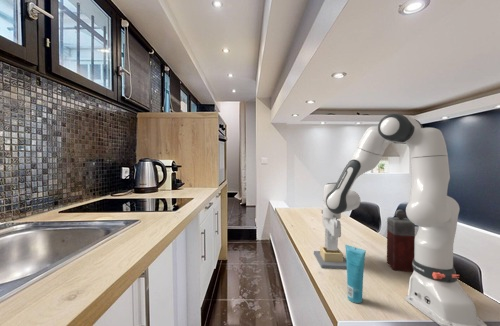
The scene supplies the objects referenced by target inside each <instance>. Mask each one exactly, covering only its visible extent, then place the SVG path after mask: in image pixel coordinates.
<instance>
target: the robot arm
mask: <svg viewBox="0 0 500 326" xmlns="http://www.w3.org/2000/svg"><path fill="white" fill-rule="evenodd" d="M392 143H393V144H405V145H407V147H408V150H409V154H410V155H409V158H410V169H411V185H410V192H409V200H408V202H407V205H406V207H405V213H406V217H407V219H408V220H410V221H411V222H412V223H414V224H415V226H418V228H417V232H416V233H415V246H414V258H413V269H414V271H413V272H412V274H411V275H410V277H409V282H408V291H407V294H406V295H405V296H404V300H405V301H406V302H407V303H409V304H410V305H412V306H413V307H414V308H416V309H417V310H419V311H420V312H421V313H422V314H424V315H425V316H426V317H428V318H429V319H431V320H432V321H433V322H434V323H436V324H437V325H439V326H488V325H487V324H486V323H485V321H483V320H482V319H480V317H479V316H478V315H477V309H476V305H475V303H474V300H473V297H471V295H468V294H467V292H466V291H465V289H464V288H463V287H462V285H461V284H460V283H459V282H458V280H459V279H460V274H457V272H456V269H455V267H454V243H455V237H456V231H457V226H458V219H459V213H460V205H459V203H458V202H457V200H456V199H454V198H453V197H451V196H449V195H448V188H449V183H450V180H451V175H450V165H449V164H450V163H449V154H448V150H447V149H448V148H447V143H446V140H445V137H444V134H443V133H442V130H441V129H439V128H435V127H423V124H422V123H421V122H420V121H419V120H417V119H415V118H413V117H411V116H409V115H406V114H402V113H390V114H387V115H385V116H383V118H381V119H380V121H379V123H378V125H377V126H376V125H372V126H370V127H368V128H367V129H366V131H364V133H363V135H362V136H361V138H360V140H359V141H358V144H357V145H356V148H355V150H354V153H352V154H353V155H352V156H351V158H350V160H349V161H348V163H347V164H346V165H345V166H344V168H343V170H342V172H341V174H340V176H339V178H338V180H337V182H328V183H325V184H324V186H323V192H322V201H323V205H322V209H321V214H322V226H323V227H324V229H325V228H327V229H328V230H329V233H330V234H331V236H332V238H331V242H332V243H335V240H336V237H338V238H341V237H342V225H341V221H340V220H339V219H341V217H342V213H345V212H350V211H353V210H357V209H358V208H359V207H360V205H361V197H360V195H359V193H358V192H356V191H354V190H352V186H353V185H354V183H355V182H356V180H357V179H358V178H359V177H361V176H362V175H363V174H365V173H368V172H369V171H372V170H374V169H375V168H376V167H377V166H378V165H379V163H380V162H381V161H382V158H383V156H384V154H385V151H386V149H387V148H388V147H389V146H390V144H392Z"/></svg>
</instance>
